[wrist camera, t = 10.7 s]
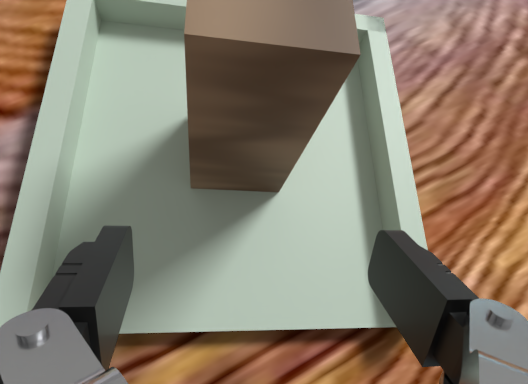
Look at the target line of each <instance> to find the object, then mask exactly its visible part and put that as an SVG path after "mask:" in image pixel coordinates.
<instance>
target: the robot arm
mask: <svg viewBox="0 0 528 384" xmlns="http://www.w3.org/2000/svg"><path fill="white" fill-rule="evenodd" d="M368 281H369V284H370V287H371V288H372V290H373V291H374V293H375V294H376V296H377V298H378V299H379V301H380V302H381V304H382V305H383V307H384V308H385V310H386V311H387V313H388V315H389V316H390V318H391V319H392V321H393V322H394V324H395V325H396V327H397V328H398V330H399V332H400V333H401V335H402V336H403V338H404V339H405V341H406V342H407V344H408V345H409V347H410V348H411V350H412V352H413V353H414V355H415V356H416V358H417V359H418V361H419V362H420V364H421V365H422V367H430V366H441V367H442V369H443V372H442V374H441V377H440V380H439V384H528V321H527V319H526V318H525V317H524V316H522V315H521V314H520V313H519V312H517V311H516V310H514V309H513V308H511V307H509V306H507V305H505V304H503V303H500V302H497V301H494V300H490V299H479V298H478V297H477V296H476V295H475V294H474V293H473V292H472V291H471V290H470V289H469V288H468V287H467V286H466V285H465V284H464V283H463V282H462V281H461V280H460V279H459V278H457V277H456V276H455V275H454V274H453V273H451V271H450V270H449V269H448V268H447V267H446V266H445V265H443V264H442V262H441V261H440V260H439V259H438V258H437V257H436V256H435V255H434V254H433V253H431V252H429V251H428V250H426V249H424V248H423V247H421V246H419V245H418V244H417V243H416V242H415V241H414V240H413V239H412V238H411V237H410V236H409V235H408V234H407V233H406V232H405V231H403V230H380V231H379V232H378V233H377V236H376V239H375V243H374V247H373V251H372V255H371V259H370V263H369V267H368ZM133 282H134V257H133V239H132V229H131V226H110V225H105V226H103V227H102V229H101V231H100V233H99V235H98V236H97V238H96V240H95V242H82V243H81V244H80V245H78V246H77V247H75V248H74V249H72V250H71V251H70V252H69V253H68V255H67V256H66V258H65V259H64V261H63V262H62V266H60V267H59V268H58V270H57V272H56V274H55V276H53V278H52V279H51V281H50V282H49V284H48V286H47V287H46V289H45V290H44V292H43V293H42V295H41V296H40V298H39V300H38V301H37V303H36V304H35V306H34V307H33V309H32V310H31V311H28V312H25V313H22V314H20V315H18V316H16V317H14V318H12V319H10V320H9V321H7V322H6V323H4V324H3V325H2V326H1V327H0V384H128V383H127V381H126V380H125V379H124V377H123V376H122V374H121V373H120V372H119V371H118V370H117V369H116V368H114V367H111V368H110V369H108V368H109V365H110V362H111V358H112V355H113V352H114V348H115V345H116V342H117V338H118V335H119V332H120V328H121V325H122V322H123V318H124V315H125V312H126V308H127V305H128V302H129V298H130V295H131V292H132V288H133Z"/></svg>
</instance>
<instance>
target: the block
mask: <svg viewBox="0 0 528 384" xmlns="http://www.w3.org/2000/svg"><path fill="white" fill-rule="evenodd" d="M184 44H185V67H186V91H187V115H188V139H189V162H190V186H191V188H193V189H215V190H237V191H258V192H279V191H280V190H281V188H282V186H283V185H284V183H285V181H286V180H287V178H288V176H289V175H290V173H291V171H292V170H293V168H294V166H295V164H296V163H297V161H298V159H299V158H300V156H301V154H302V153H303V151H304V149H305V148H306V146H307V144H308V143H309V141H310V139H311V138H312V136H313V134H314V132H315V131H316V129H317V127H318V126H319V124H320V122H321V121H322V119H323V117H324V116H325V114H326V112H327V111H328V109H329V107H330V106H331V104H332V102H333V101H334V99H335V97H336V95H337V94H338V92H339V90H340V89H341V87H342V85H343V84H344V82H345V80H346V79H347V77H348V75H349V74H350V72H351V70H352V69H353V67H354V65H355V63H356V62H357V60H358V58H359V57H360V55H361V53H360V47H359V40H358V33H357V27H356V20H355V13H354V7H353V0H187V4H186V16H185V29H184Z"/></svg>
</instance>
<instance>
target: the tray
mask: <svg viewBox="0 0 528 384" xmlns="http://www.w3.org/2000/svg"><path fill="white" fill-rule="evenodd" d="M186 4H187V0H67V1H66V6H65V10H64V14H63V18H62V22H61V26H60V30H59V34H58V38H57V42H56V46H55V50H54V55H53V59H52V63H51V67H50V71H49V75H48V79H47V83H46V87H45V91H44V95H43V99H42V104H41V108H40V112H39V116H38V120H37V124H36V128H35V132H34V136H33V140H32V144H31V148H30V153H29V157H28V161H27V165H26V169H25V173H24V177H23V181H22V185H21V189H20V193H19V197H18V202H17V206H16V210H15V214H14V218H13V222H12V226H11V230H10V234H9V238H8V242H7V246H6V251H5V255H4V259H3V263H2V267H1V271H0V327H1V326H2V325H3V324H4V323H6V322H7V321H9V320H10V319H12V318H14V317H16V316H18V315H20V314H22V313H25V312H28V311H31V310H32V309H33V307H34V306H35V304H36V303H37V301H38V300H39V298H40V296H41V295H42V293H43V292H44V290H45V289H46V287H47V286H48V284H49V282H50V281H51V279H52V278H53V276H55V274H56V272H57V270H58V268H59V267H60V266H62V262H63V261H64V259H65V258H66V256H67V255H68V253H69V252H70V251H71V250H72V249H74V248H75V247H77V246H78V245H80V244H81V243H82V242H95V240H96V238H97V236H98V235H99V233H100V231H101V229H102V227H103V226H105V225H110V226H131V229H132V239H133V257H134V282H133V288H132V292H131V295H130V298H129V302H128V305H127V308H126V312H125V315H124V318H123V322H122V325H121V328H120V332H119V334H127V333H169V332H211V331H253V330H295V329H337V328H379V327H396V325H395V324H394V322H393V321H392V319H391V318H390V316H389V315H388V313H387V311H386V310H385V308H384V307H383V305H382V304H381V302H380V301H379V299H378V298H377V296H376V294H375V293H374V291H373V290H372V288H371V287H370V284H369V281H368V267H369V263H370V259H371V255H372V251H373V247H374V243H375V239H376V236H377V233H378V232H379V231H380V230H403V231H405V232H406V233H407V234H408V235H409V236H410V237H411V238H412V239H413V240H414V241H415V242H416V243H417V244H418V245H419V246H421V247H423V248H424V249H426V250H428V249H427V244H426V239H425V234H424V229H423V223H422V218H421V213H420V208H419V202H418V197H417V192H416V187H415V181H414V176H413V171H412V166H411V160H410V155H409V150H408V145H407V139H406V134H405V129H404V124H403V119H402V113H401V108H400V103H399V98H398V92H397V87H396V82H395V77H394V71H393V66H392V61H391V56H390V50H389V45H388V40H387V35H386V29H385V24H384V19H383V18H381V17H373V16H366V15H359V14H355V20H356V27H357V33H358V40H359V47H360V53H361V55H360V57H359V58H358V60H357V62H356V63H355V65H354V67H353V69H352V70H351V72H350V74H349V75H348V77H347V79H346V80H345V82H344V84H343V85H342V87H341V89H340V90H339V92H338V94H337V95H336V97H335V99H334V101H333V102H332V104H331V106H330V107H329V109H328V111H327V112H326V114H325V116H324V117H323V119H322V121H321V122H320V124H319V126H318V127H317V129H316V131H315V132H314V134H313V136H312V138H311V139H310V141H309V143H308V144H307V146H306V148H305V149H304V151H303V153H302V154H301V156H300V158H299V159H298V161H297V163H296V164H295V166H294V168H293V170H292V171H291V173H290V175H289V176H288V178H287V180H286V181H285V183H284V185H283V186H282V188H281V190H280V191H279V192H258V191H237V190H215V189H193V188H191V186H190V162H189V139H188V115H187V91H186V67H185V44H184V29H185V16H186Z"/></svg>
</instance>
